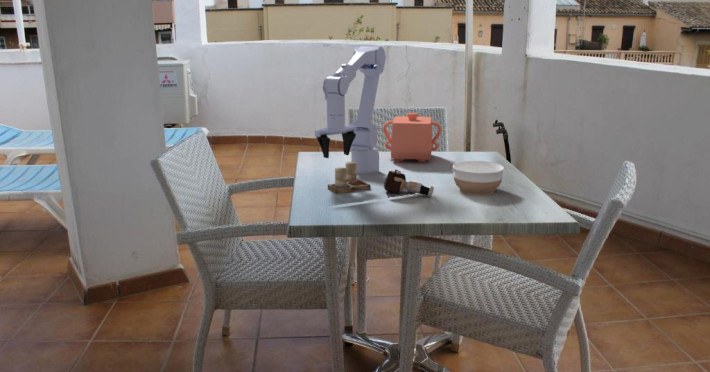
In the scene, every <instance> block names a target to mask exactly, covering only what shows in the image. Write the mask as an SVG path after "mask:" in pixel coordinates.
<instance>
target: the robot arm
mask: <svg viewBox="0 0 710 372" xmlns="http://www.w3.org/2000/svg"><path fill="white" fill-rule="evenodd" d="M386 59H387V55H386V51H385V48H384V47H383V46H361V45H358V46H356V47H355V48H354V49H353V53H352V57H351V58H350V60H349V62H348V63H342V64H341V66H340V67H339V68H338V69H337V70H336V71H335V72H334V73H333V74H332V75H330V76H329V75H328V76H326V77H325V79H324V80H323V83H322V91H323V95H324V100H325V101H326V127H324V128H320V129H314V137H315V139H317V141H318V143H319V146H320V148H321V151H322V155H323V158H325V159H329V157H330V149H329V148H330V142H331V138H330V137H329V136H332V135H339V134H341V136H342V141H343V142H342V143H343V145H342V146H343V155H345V156H349V155H350V158H351V159H350V160H351V161H350V162H356V163H357V174H359V175H361V174H362V175H363V174H368V173H375V172H380V152H379V150H378V148H377V147H376V146H377V143H378V128H377V126H376V125H375V124H374V123H373V122H372V120H373V115H374V109H375V102H376V97H377V92H378V87H379V81H380V80H379V79H380V75H381V74H383V73H384V70H385V69H384V68H385V64H386ZM357 71H359V72H360V73H362V74H363V75H364V78H363V79H364V80H363V84H362V90H361V95H360V100H359V106H358V113H357V118H356V119H355V120H354V121H352V122H351V123H349V125H346V120H345V119H346V116H345V115H346V114H345V113H346V110H345V109H346V108H345V107H346V106H345V104H346V99H345V96H346V95H347V93H348V91H349V87H350V83H352V82H353V81H354V79H355V78H356V76H357ZM350 153H351V154H350Z"/></svg>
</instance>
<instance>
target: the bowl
mask: <svg viewBox="0 0 710 372" xmlns="http://www.w3.org/2000/svg"><path fill="white" fill-rule="evenodd" d="M452 169H453V175H452V176H453V181H454V184H455V185H456V186H457V187H458V188H459V191H460V192H461V193H463V194H467V195H471V196H487V195H488V196H489V195H493V194H494V192H495V191H496V190H497V189H498V188H499V187H500V185H501V183H502V181H503V172H504V170H505V167H504V166H503V165H501V164H499V163H496V162H490V161H486V160H485V161H483V160H463V161H459V162H455V163H454V164H453V165H452Z"/></svg>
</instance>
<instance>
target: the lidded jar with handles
mask: <svg viewBox="0 0 710 372" xmlns="http://www.w3.org/2000/svg"><path fill="white" fill-rule="evenodd" d="M406 115H407V116H402V115H400V116H398V115H397V116H394V118H393V120H392V119H391V120H387V121H386V122H385V123H384V124H383V127H382V131H383V134H384V135H385V137H386V139H387V141H385V144H384V147H385V149H386V150H390V156H391V159H395V162H397V163H399V162H400V163H402V162H405V160H416V161H417V162H418V163H427V160H428V161H429V160H431V157H432V151H433V152H435V151H438V149H439V148H440V147H439V146H440V145H439V143H437V140H438V139H439V137H440V136H441V134H442V132H443V131H442V126H441V124H439V123H438V122H437V121H433V120H432V117H431V116H419V113H417V112H407V114H406ZM389 125H392V127H391V136H390V134H389V133H388V130H387V127H388V126H389ZM433 126H436V127H437V129H438V130H437V133H436V134H435V136H434V137H433ZM389 144H390V145H389ZM434 146H435V147H434Z"/></svg>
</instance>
